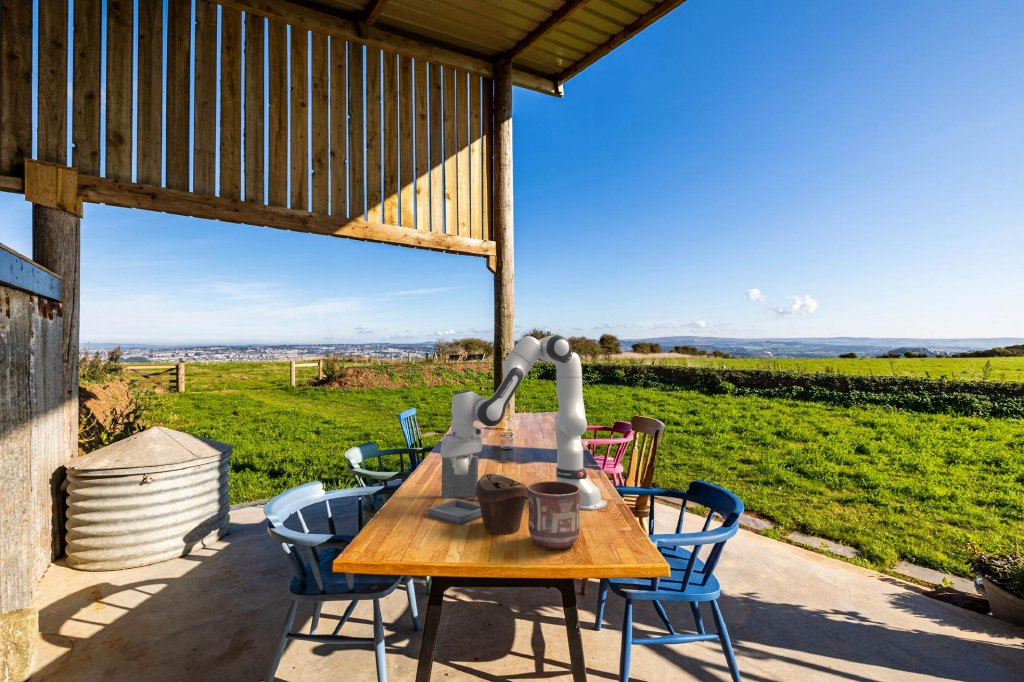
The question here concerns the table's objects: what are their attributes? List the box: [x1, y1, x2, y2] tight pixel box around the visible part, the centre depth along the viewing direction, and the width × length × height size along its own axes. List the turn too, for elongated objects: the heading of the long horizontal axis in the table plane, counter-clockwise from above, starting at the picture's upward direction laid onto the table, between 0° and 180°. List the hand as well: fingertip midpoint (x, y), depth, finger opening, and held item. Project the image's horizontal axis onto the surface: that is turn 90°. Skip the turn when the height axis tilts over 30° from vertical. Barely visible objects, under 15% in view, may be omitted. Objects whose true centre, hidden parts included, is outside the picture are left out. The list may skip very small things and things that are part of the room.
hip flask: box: [440, 455, 479, 499], centre depth 210 cm, size 16×4×20 cm, turn 96°
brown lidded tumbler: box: [475, 473, 528, 535], centre depth 168 cm, size 18×20×18 cm
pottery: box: [526, 480, 581, 551], centre depth 154 cm, size 18×18×18 cm
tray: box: [427, 499, 482, 526], centre depth 182 cm, size 17×16×3 cm
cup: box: [454, 456, 469, 475], centre depth 188 cm, size 6×6×6 cm
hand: (461, 466), depth 188 cm, fingers closed on cup, 6 cm apart
